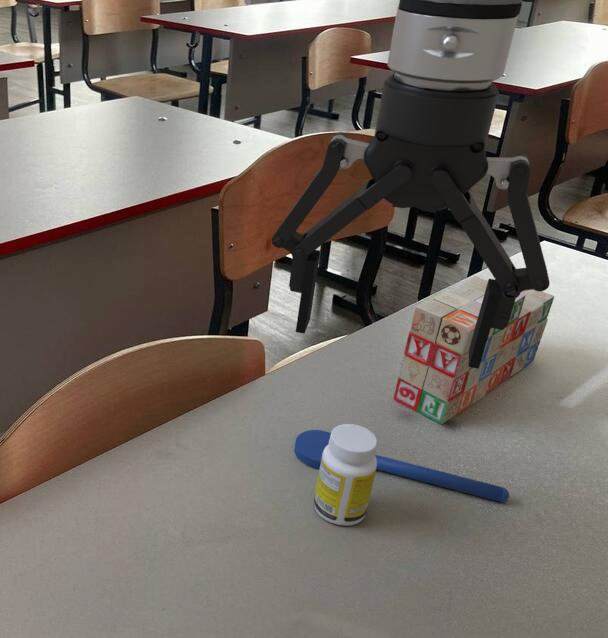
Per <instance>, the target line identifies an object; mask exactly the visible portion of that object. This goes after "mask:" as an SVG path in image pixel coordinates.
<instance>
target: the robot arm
mask: <svg viewBox="0 0 608 638" xmlns="http://www.w3.org/2000/svg"><path fill="white" fill-rule="evenodd" d="M522 6H523V0H399V2H398V6H397V9H396V13H395V18H394V19H395V20H394V25H393V31H392V36H391V42H390V47H389V53H388V59H387V64H386V65H387V67H388V68H389V69H390V71H392V72H393V73H392V74H391V75H389V76H388V77H387V79H384V81H383V88H382V93H381V98H380V102H379V109H378V114H377V120H376V125H375V131H374V135H373V137H372V138H371V140H370V141H369V142H366V141H365V142H364V141H361V140H355V139H351V138H349V136H348V135H347V133H345V132H343V131H340V132H336V134H334V135H333V137H332V138H331V140H330V142H329V144H328V146H327V149H326V152H325V156H324V160H323V163H322V166H321V167H320V168H319V169H318V171H317V173H316V174H315V175H314V177H313V178H312V179H311V181H310V183H309V184H308V185H307V187H306V188H305V189H304V191H303V192H302V193H301V195H300V196H299V198H298V199H297V200H296V201H295V203H294V205H293V206H292V208H290V210H289V211H288V213H287V215H286V216H285V217H284V219H283V220H282V222H281V223H280V224H279V225H278V227H277V228H276V231H275V233H274V234H273V236H272V238H271V244H272V246H273V247H274V248H276V249H284V250H286V251H287V252H289V253H290V255H291V257H292V261H291V268H290V275H289V281H288V287H289V291H290V292H292V293H293V292H294V293H299V294H300V299H299V305H298V313H297V319H296V326H295V333H299V334H304V335H305V334H306V331H307V329H308V325H309V323H310V321H311V316H312V309H313V303H314V297H315V291H316V285H317V277H318V271H319V265H320V258H321V253H322V250H319V248H320V247H321V246H322V245H324V244H325V243H326V242H328V241H329V240H330V239H332V238H333V237H334V236H335V235H337V234H338V233H339V232H340V231H342V230H343V229H344V228H346V227H347V226H348V225H349V224H351V223H352V222H353V221H354V220H356V219H357V218H358V217H360V216H361V215H362V214H363V213H365V212H366V211H368V210H371V209H372V208H373V207H375V206H376V205H377V204H378V203H380V202H381V201H382V200H385V201H386V202H387V203H389V204H390V205H391V207H392V208H398V209H408V208H415V209H419V210H421V211H423V212H426V213H434V214H436V213H437V211H442V210H445V209H449V211H450V213H451V214H452V215H453V217H454V219H455V220H456V222H457V223H458V224H460V225H461V228H462V229H463V230H464V232H465V234H466V235H467V237H468V239H469V240H470V241H471V244H472V245H473V246H474V248H475V249H476V251H477V252H478V254H479V256H480V257H481V259H482V260H483V262H484V264H485V266H486V267H487V268H488V270H489V271H490V273H491V275H492V277H493V278H494V279H493V278H488V280H487V281H488V283H487V287H486V290H485V294H484V298H483V301H482V305H481V308H480V312H479V315H478V319H477V322H476V326H475V330H474V333H473V337H472V340H471V344H470V347H469V367H472V368H477V369H479V367H480V363H481V360H482V356H483V353H484V350H485V346H486V343H487V339H488V336H489V332H490V329H491V328H494V329H500V330H504V329H505V327H506V326H507V325H508V322H509V319H510V316H511V312H512V309H513V306H514V303H515V299H516V298H517V297H518V296H519V295H520V292H522V291H525V290H533V289H534V290H535V291H542V292H544V291H547V289H549V287H550V278H549V273H548V267H547V265H546V260H545V256H544V253H543V250H542V245H541V242H540V238H539V234H538V230H537V226H536V223H535V219H534V215H533V211H532V207H531V203H530V200H529V196H528V187H529V181H530V176H531V175H530V174H531V166H530V161H529V157H528V155H526V154H525V153H523V152H516V153H514V154H512V155H511V156H510V157H491V156H488V155H487V152H486V146H487V143H488V142H487V141H488V139H489V133H490V130H491V126H492V123H493V118H494V114H495V110H496V107H497V102H498V98H499V94H500V91H499V90H498V87H497V86H496V85H495V84H494V83H493V82H495V81H497V80H499V79H500V78H502V77H504V75H505V71H506V66H507V64H508V63H507V62H508V58H509V55H510V49H511V47H512V42H513V38H514V34H515V30H516V26H517V23H518V18H519V15H520V14H521V10H522ZM357 160H363V162H364V164H365V167H366V168H367V170H368V172H369V174H370V175H371V177H370V178H369V179H368V180H366V181H365V182H364V183H363V184H362V185H361V186H360V187H359V188H358V189H357V190H356V191H355V192H354V193H352V194H351V195H349V196H348V197H347V198H346V199H345V200H343V201H342V202H341V203H340V204H339V205H337V206H336V207H334V209H332V210H331V211H330V212H328V213H327V214H326V215H325V216H323V217H322V218H321V219H320V220H319V221H317V222H316V223H315V224H313V226H311V227H310V228H309V229H308V230H306V231H305V232H304V233H303V232H298V231H297V230H298V229H299V228H300V226H301V225H302V223H303V222H304V221H305V220H306V218H307V217H308V215H309V214H310V213H311V211H312V210H313V209H314V207H315V206H316V204H317V203H318V201H319V200H320V199H321V198H322V196H323V195H324V194H325V192H326V191H327V189H329V186H330V185H331V184H332V183H333V181H334V179H335V178H336V177H337V174H338V172H339V171H340V169H341V170H347V169H349V168H350V167H352V165H353V164H354V162H355V161H357ZM485 176H491V177H492V178H493V179H494V182H495V187H497V189H499V190H502V191H506V193H507V194H506V195H507V201H508V207H509V210H510V214H511V218H512V221H513V225H514V229H515V231H516V232H515V233H516V236H517V239H518V244H519V248H520V251H521V254H522V259H523V261H524V265H525V267H520V268H517V267H516V266H515V264H514V263H513V261H512V259H511V258H510V256H509V255H508V253H507V252H506V250H505V248H504V247H503V245H502V243H501V241H500V240H499V238H498V237H497V236H496V234H495V232H494V230H493V228H492V227H491V226H490V224H489V222H488V221H487V220H486V218H485V215H484V214H483V213H482V211H481V210H480V208H479V207H478V205H477V203H476V200H475V198H474V196H473V195H472V192H471V191H470V190H471V189H472V188H473V187H474V186H476V184H478V183H479V182H480V181H481V180H483V179H484V178H485Z"/></svg>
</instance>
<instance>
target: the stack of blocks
mask: <svg viewBox="0 0 608 638" xmlns="http://www.w3.org/2000/svg"><path fill="white" fill-rule="evenodd" d="M487 283H488V280H487V279H484V278H482V277H479V276H476V275H474V276H472V277H470V278H468V279H466V280H464V281H462V282H461V283H460V284H457V285H455V286H454V287H452V288H450V289H449V290H446V291H444V292H442V293H440V294H438V295H437V296H434V297H433V298H430V299H427V300H426V301H424V302H422V303H420V304H418V305H416V306H415V309H414V313H413V319H412V322H411V326H410V330H409V332H408V337H407V338H406V339H407V340H406V344H405V348H404V352H403V357H402V362H401V367H400V369H399V375H398V378H397V381H396V385H395V386H396V387H395V391H394V393H393V400H395V401H397V402H398V403H400V404H401V405H403V406H406V407H408V408H409V409H411V410H413V411H415V412H418V413H419V414H421V415H423V416H424V417H426V418H428V419H430V420H432V421H434V422H435V423H437V424H439V425H443V424H445V423H446V422H448V421H449V420H450V419H452V418H454V417H455V416H456V415H459V414H461V413H462V412H463V411H465V410H466V409H468V408H469V407H471V406H472V405H473V404H475V403H477V402H478V401H480V400H481V399H482V398H484V397H485V396H486V394H489V392H491V391H492V390H493V389H495V388H496V387H497V386H498V385H500V384H502V383H503V382H504V381H505V380H507V379H509V378H512V377H513V376H514V375H516V374H517V373H518V372H520V371H522V370H523V369H524V368H526V367H527V366H528V365H530V364H532V363H533V362H534V360H535V359H536V356H537V355H536V354H537V352H538V350H539V346H540V343H541V340H542V339H543V335H544V332H545V330H546V326H547V324H548V320H549V319H548V316H549V314H550V312H551V308H552V305H553V303H554V300H555V296H554V295H553V294H551V293H547V292H544V291H535V290H534V289H533V290H525V291H522V292H520V295H519V296H518V297H517V298H516V299H515V303H514V306H513V309H512V312H511V316H510V319H509V322H508V325H507V326H506V327H505V329H504V330H500V329H494V328H491V329H490V332H489V336H488V339H487V343H486V346H485V350H484V353H483V356H482V360H481V363H480V367H479V369H477V368H472V367H469V347H470V344H471V340H472V337H473V333H474V330H475V326H476V322H477V319H478V315H479V312H480V308H481V305H482V301H483V298H484V294H485V290H486V287H487Z"/></svg>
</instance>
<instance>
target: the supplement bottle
mask: <svg viewBox="0 0 608 638" xmlns="http://www.w3.org/2000/svg"><path fill="white" fill-rule="evenodd" d="M330 433H331V435H330V439H329V444H328V445H327V446H326V447H325V449H324V451H323V454H322V459H321V464H320V469H318V475H317V479H316V480H317V481H316V486H315V492H314V497H313V505H314V506H313V507H314V510H315V511H316V513H317V514H318V516H320V517H321V518H322V519H324V520H325V521H326V522H328V523H331V524H333V525H334V524H335V525H339V526H354V525H357V524H359V523H361V522H362V521H363V520H364V519H365V517H366V514H367V511H368V506H369V502H370V499H371V493H372V489H373V484H374V481H375V476H376V472H377V469H376V468H377V460H376V457H375V455H376V452H377V446H378V439H377V436H376V435H375V433H373V432H372V431H371V430H370V429H368V428H366V427H364V426H362V425H357V424H353V423H342V424H339V425H336V426H335V427H334V428H333V429H332V430H331V432H330Z"/></svg>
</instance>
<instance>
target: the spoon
mask: <svg viewBox="0 0 608 638" xmlns="http://www.w3.org/2000/svg"><path fill="white" fill-rule="evenodd" d="M330 435H331V432H329V431H326V430H321V429H309V430H306V431H302V432H300V433H299V434H298V435H297V437H296V438H295V442H294V447H293V449H294V450H293V451H294V453H295V456H296V457H297V458H298V459H299V460H300V461H301V462H302V463H303V464H305V465H307V466H309V467H311V468H314V469H318V470H319V469H320V464H321V459H322V454H323V451H324V449H325V447H326V446H327V445H328V444H329V439H330ZM375 457H376V460H377V468H376V471H380V472H384V473H389V474H392V475H396V476H400V477H404V478H407V479H411V480H416V481H419V482H422V483H427V484H431V485H434V486H439V487H442V488H446V489H450V490H453V491H459V492H461V493H465V494H469V495H472V496H476V497H479V498H484V499H487V500H491V501H496V502H499V503H505V502H506V501H508V500H509V498H510V492H509V490H507V488H505V487H503V486H499V485H497V484H492V483H488V482H484V481H480V480H476V479H472V478H469V477H464V476H461V475H456V474H453V473H448V472H444V471H441V470H437V469H433V468H430V467H426V466H422V465H418V464H414V463H411V462H406V461H402V460H399V459H394V458H391V457H387V456H383V455H378V454H375Z"/></svg>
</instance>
